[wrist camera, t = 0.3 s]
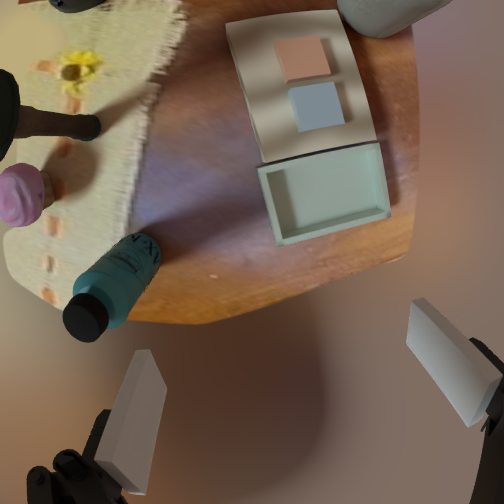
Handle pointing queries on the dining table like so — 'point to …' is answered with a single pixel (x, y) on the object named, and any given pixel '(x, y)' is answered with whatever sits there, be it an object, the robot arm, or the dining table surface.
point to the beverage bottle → (111, 287)
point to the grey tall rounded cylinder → (386, 14)
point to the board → (296, 83)
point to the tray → (324, 192)
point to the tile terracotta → (301, 59)
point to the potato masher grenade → (37, 119)
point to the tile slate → (316, 106)
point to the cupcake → (24, 194)
